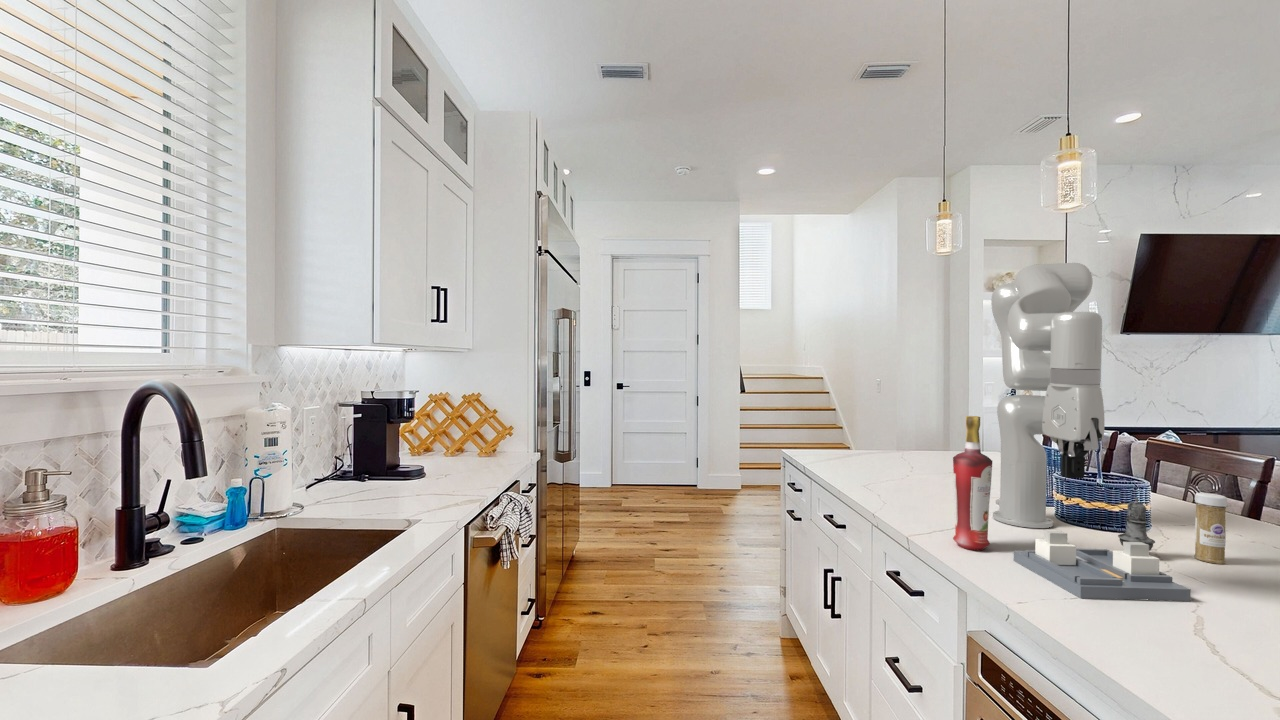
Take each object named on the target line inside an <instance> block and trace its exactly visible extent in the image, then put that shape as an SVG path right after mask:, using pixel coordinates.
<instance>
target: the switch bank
mask: <svg viewBox="0 0 1280 720" xmlns="http://www.w3.org/2000/svg"><path fill="white" fill-rule="evenodd" d="M1013 562H1015V563H1016V564H1018V565H1021V566H1023V567H1025V569H1028V570H1029V571H1031V572H1032V573H1035V574H1037V575H1038V576H1040V577H1042V578H1044V579H1045V580H1047V581H1049V582H1051V583H1052V584H1054V585H1056V586H1057V587H1060V588H1062V589H1063V590H1064V591H1067V592H1069V593H1070V594H1072V595H1074V596H1076V597H1077V598H1079V599H1088V600H1089V599H1093V600H1096V599H1097V600H1122V599H1148V600H1147V601H1158V600H1174V601H1173V602H1191V595H1192V593H1191V589H1190V588H1189V587H1186V586H1183V585H1181V584H1179V583H1177V582H1174V581H1173V576H1171V575H1168V574H1166V573H1164V572H1161V571H1160V570H1159V575H1139V574H1130V573H1127V572H1125V571H1123V570H1121V569H1119V568H1116V567H1114V566H1113V550H1112V551H1110V549H1107V548H1080V547H1078V548H1077V547H1076V565H1057V564H1055V563H1053V562H1051V561H1049V560H1047V559H1045V558H1043V557H1041V556H1039V555H1037V554H1035V550H1029V549H1028V550H1026V549H1025V550H1013Z"/></svg>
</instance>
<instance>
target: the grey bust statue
mask: <svg viewBox="0 0 1280 720" xmlns="http://www.w3.org/2000/svg"><path fill="white" fill-rule="evenodd" d="M1146 515H1147V507H1146V505H1145V504H1143V503H1141V502H1139V498H1138V497H1136V498H1135V499H1134V501H1133V502H1129V503H1128V504H1127V517H1125V518H1124V520H1126V529H1125V532H1124V533H1119V534H1118V535H1117V537H1118V538H1119V543H1120V544H1121V546H1122V547H1123V542H1142V543H1145V544H1147V545H1149V552H1150V551H1151V550H1152V548H1154V544H1155V543H1156V540H1154V539H1152V538H1150V537H1149V536H1148V534H1147V523H1149V521H1148V520H1147V519H1146ZM1121 551H1123V549H1122V550H1121Z"/></svg>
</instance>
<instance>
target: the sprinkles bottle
mask: <svg viewBox="0 0 1280 720" xmlns="http://www.w3.org/2000/svg"><path fill="white" fill-rule="evenodd" d="M1194 502H1195V517H1194V520H1195V521H1194V546H1195V547H1194V548H1195V549H1194V551H1195V553H1194V556H1193V557H1194V558H1195V559H1196V560H1198V561H1201V562H1203V563H1204V562H1206V563H1210V564H1216V565H1223V564H1226V557H1225V556H1226V538H1227V537H1226V536H1227V534H1226V533H1227V532H1226V509H1227V506H1228V498H1227V496H1225V495H1221V494H1216V493H1209V492H1208V493H1207V492H1196V493H1195V495H1194Z"/></svg>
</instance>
